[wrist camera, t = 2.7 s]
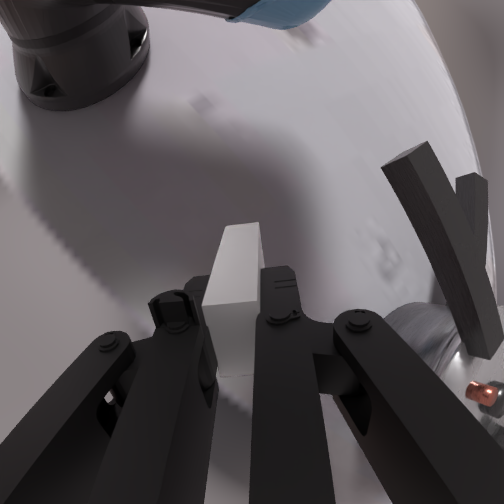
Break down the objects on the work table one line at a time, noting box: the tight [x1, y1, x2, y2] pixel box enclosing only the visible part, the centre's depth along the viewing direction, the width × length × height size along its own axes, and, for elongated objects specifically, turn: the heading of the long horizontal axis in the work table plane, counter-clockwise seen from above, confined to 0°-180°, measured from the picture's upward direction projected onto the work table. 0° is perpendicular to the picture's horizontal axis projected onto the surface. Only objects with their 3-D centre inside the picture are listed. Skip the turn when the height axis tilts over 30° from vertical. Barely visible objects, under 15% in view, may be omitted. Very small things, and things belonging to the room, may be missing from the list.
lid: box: [381, 141, 504, 450], centre depth 20 cm, size 35×17×4 cm, turn 34°
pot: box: [384, 172, 488, 372], centre depth 28 cm, size 26×26×11 cm
